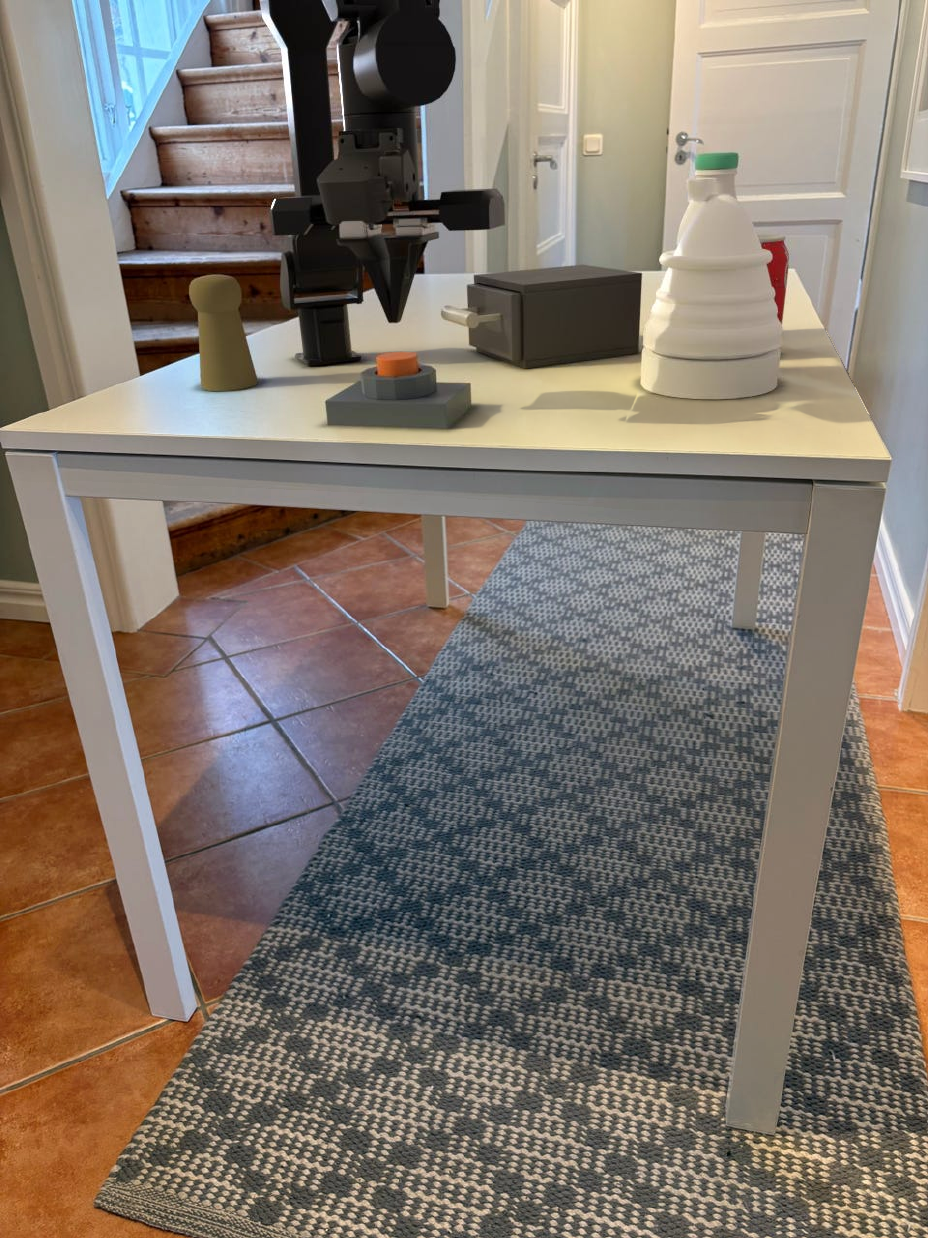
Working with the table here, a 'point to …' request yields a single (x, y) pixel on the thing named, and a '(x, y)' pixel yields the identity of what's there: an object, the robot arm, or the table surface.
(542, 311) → the cabinet
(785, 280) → the soda can
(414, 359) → the button
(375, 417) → the control block
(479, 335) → the drawer
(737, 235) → the honey pot
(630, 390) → the table surface
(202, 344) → the cork
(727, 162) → the milk bottle
